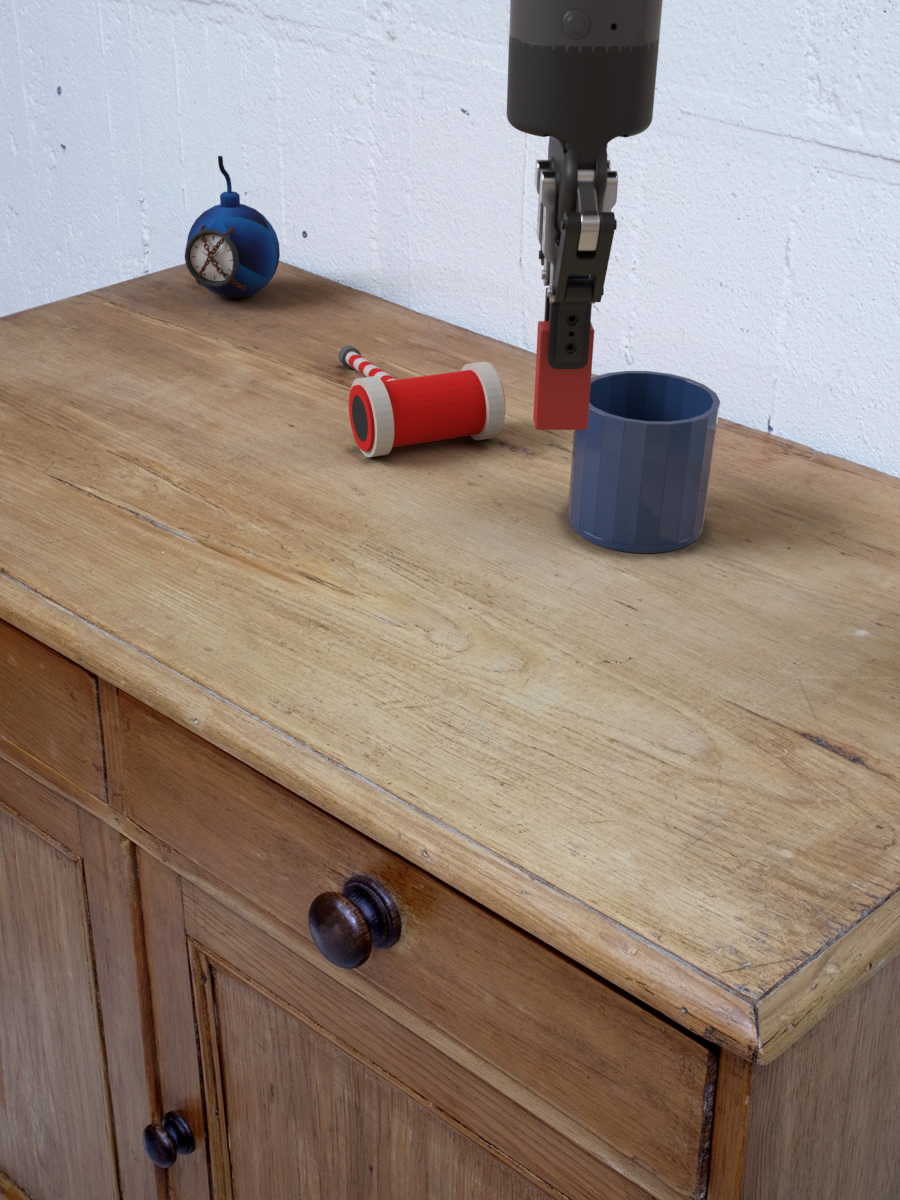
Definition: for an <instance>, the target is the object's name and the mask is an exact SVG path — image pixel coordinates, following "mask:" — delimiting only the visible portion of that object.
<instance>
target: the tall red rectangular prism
mask: <svg viewBox="0 0 900 1200" xmlns="http://www.w3.org/2000/svg"><path fill="white" fill-rule="evenodd" d="M567 279H586V274H572V275H570V276H568V278H567ZM536 332H537V333H536V334H537V336H536V357H535V373H534V374H535V375H534V376H535V377H534V394H533V395H534V398H533V416H532V417H533V418H532V419H533V424H534V427H535V430H536V431H574V430H587V428H588V414H589V400H590V386H591V378H592V373H593V372H592V370H593V355H594V343H595V342H594V341H595V329H594V327H593V323H592V322H591V323H590V338H589V352H588V362H587V365H586V366H585V367H583V368H581V369H554V368H552V367H551V366H550V365H549V362H548V358H547V353H548V335H549V321H544V320H539V321H538V322H537V331H536Z"/></svg>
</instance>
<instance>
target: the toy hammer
mask: <svg viewBox="0 0 900 1200" xmlns="http://www.w3.org/2000/svg"><path fill="white" fill-rule="evenodd" d="M337 357H338V361H339V362H340V364H341V365H342V366H344V367H345V368H347V369H352V370H353V369H354V370H356V371H357V372H359V373H360V374H361V375H363V376H364V377H358V378H355V379H354V380H353V382H352V384H351V387H350V390H349V391H350V392H349V395H348V415H349V416H348V417H349V422H350V427H351V431H352V435H353V437H354V440H355V443H356V445H357V447H358V448H359V449H360V451H361V453H362V454H363V456H364V457H367V458H374V457H381V456H387V455H388V454H390V453H391V451H392V449H393V448H397V447H403V446H410V445H416V444H423V443H429V442H435V441H442V440H449V439H455V438H463V437H467V436H470V437H471V438H472V439H473V440H475V441H482V440H489V439H495V438H497V437H499V436H500V434H501V432H502V430H503V428H504V424H505V418H506V397H505V396H506V395H505V391H504V387H503V383H502V381H501V379H500V376H499V374H498V372H497V370H496V368H495V367H494V366H493V365H492V364H491V363H490V362H488V361H478V362H471V363H466V364H464V365H463V367H462V368H461V370H458V371H452V372H451V371H450V372H444V373H436V374H429V375H422V376H413V377H407V378H399V379H397V378H396V377H394V376H393V375H391V374H389V373H388V372H387V371H385V370H383V369H382V368H380V367H378V366H377V365H376V364H374V363H372V362H371V361H369V360H368V359H366V358H365V357H363V356H362V353H361V352H360V351H359V349H357V347H356V348H355V347H354V346H353V345H344V346H343V347H342V348H340V350H339V351H338V354H337Z"/></svg>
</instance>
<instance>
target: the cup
mask: <svg viewBox="0 0 900 1200" xmlns="http://www.w3.org/2000/svg"><path fill="white" fill-rule="evenodd" d="M720 407H721V400H720V398H719V396H718V394H717V393H716V392H715V391H714V390H713V389H712V388H710V387H708V386H707V385H705V384H703V383H701V382H699V381H696V380H694V379H692V378H689V377H686V376H685V377H684V376H680V375H677V374H672V373H669V372H668V373H667V372H659V371H653V370H652V371H651V370H624V371H622V370H621V371H615V372H613V371H612V372H607V373H603V374H599V375H595V376H593V377H591V386H590V400H589V414H588V428H587V430H573V439H572V440H573V441H572V451H571V452H572V453H571V464H570V465H571V466H570V477H569V478H570V479H569V493H568V506H567V510H568V513H567V514H568V515H567V516H568V518H567V519H568V522H569V525H570V527H571V528H572V529H573V530H574V532H575V533H576V534H577V535H579V536H580V537H582V538H583V539H584V540H587V541H588V542H591V543H593V544H595V545H597V546H600V547H603V548H607V549H610V550H615V551H618V552H624V553H634V554H657V553H658V554H659V553H666V552H673V551H675V550H679V549H682V548H685V547H687V546H689V545H691V544H693V543H694V542H696V541H697V540H698V539H699V537H700V536H701V534H702V532H703V530H704V522H705V520H706V511H707V504H708V496H709V489H710V481H711V475H712V466H713V459H714V452H715V444H716V438H717V431H718V430H717V429H718V423H719V422H718V421H719V415H720Z"/></svg>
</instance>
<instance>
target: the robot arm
mask: <svg viewBox="0 0 900 1200" xmlns="http://www.w3.org/2000/svg"><path fill="white" fill-rule="evenodd" d="M662 13H663V0H509V33H508V59H507V60H508V61H507V64H508V65H507V86H506V87H507V88H506V119H507V121H508V123H509V124H510V126H512V127H513V128H514V129H516V130H517V131H519V132H521V133H524V134H528V135H531V136H536V137H540V138H546V137H549V138H548V145H547V159H536V160H535V166H534V167H535V168H534V187H535V189H536V192H537V194H538V197H537V198H538V200H537V219H536V236H537V240H538V243H539V245H540V250H538V260H540V265H541V267H542V266H543V269H542V270H541V271H540V273H541V275H540V276H541V277H540V278H541V280H543V286H544V287H545V298H544V300H545V301H544V319H543V321H549V335H548V353H547V358H548V362H549V365H550V366H551V367H552V368H554V369H581V368H583V367H585V366H586V365H587V362H588V352H589V338H590V323H591V324H592V307H593V306H592V305H593V304H594V305H595V304H596V303H601V302H602V298H603V296H604V293H605V288H604V287H605V281H606V276H607V272H608V266H609V262H610V255H611V251H612V246H613V242H614V236H615V231H616V230H617V227H618V221H617V219H616V216H615V212H614V211H612V209H613V207H615V205H616V204H617V200H618V186H619V184H618V183H619V175H618V171H617V170H611V165H612V164H611V160H610V159H608V155H609V154H608V150H607V149H608V145H609V143H610V142H611V141H612V140H615V139H616V138H629V137H634V136H637V135H639V134H641V133H643V132H645V131H646V130H647V129H648V128H649V127H650V126H651V124H652V122H653V118H654V105H655V96H656V95H655V93H656V83H657V82H656V81H657V80H656V79H657V72H658V61H659V59H658V58H659V50H660V49H659V47H660V39H661V38H660V37H661V36H660V35H661V25H662ZM572 274H586V279H567V278H568V276H570V275H572Z"/></svg>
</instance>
